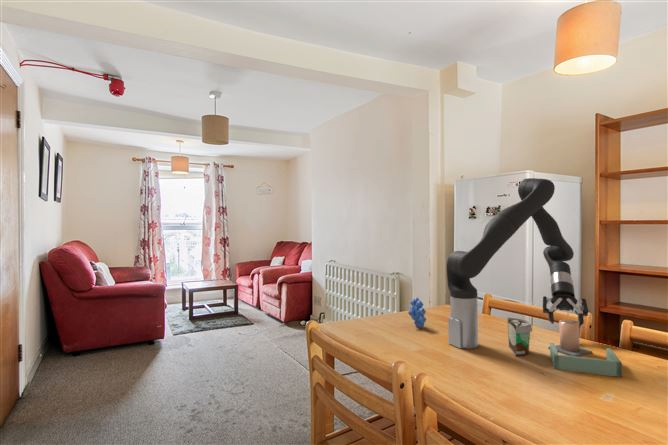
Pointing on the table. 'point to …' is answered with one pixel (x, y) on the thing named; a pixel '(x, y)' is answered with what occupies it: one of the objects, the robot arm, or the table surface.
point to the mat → (573, 353)
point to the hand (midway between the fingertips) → (566, 323)
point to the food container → (519, 336)
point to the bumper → (587, 363)
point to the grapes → (417, 312)
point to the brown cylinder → (569, 335)
